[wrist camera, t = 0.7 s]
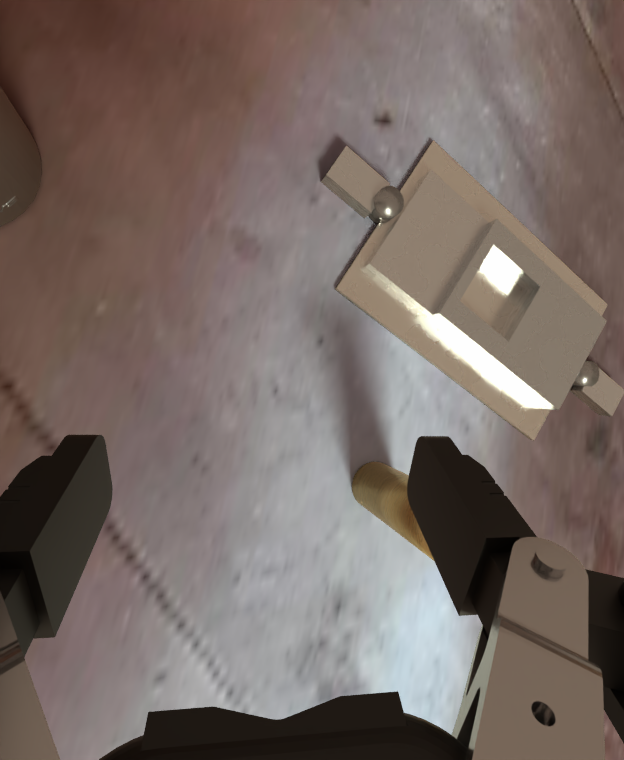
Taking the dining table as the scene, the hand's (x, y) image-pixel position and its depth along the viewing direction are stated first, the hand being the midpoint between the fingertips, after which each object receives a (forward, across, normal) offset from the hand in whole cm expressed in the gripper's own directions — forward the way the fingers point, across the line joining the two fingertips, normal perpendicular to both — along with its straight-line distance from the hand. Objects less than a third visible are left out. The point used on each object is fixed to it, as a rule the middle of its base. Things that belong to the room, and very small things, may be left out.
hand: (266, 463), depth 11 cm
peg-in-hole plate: (+28, -20, +2) cm, 34 cm away
